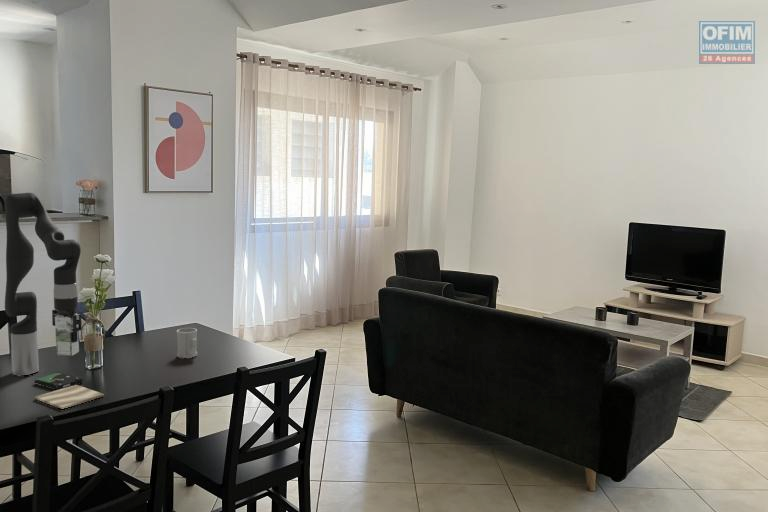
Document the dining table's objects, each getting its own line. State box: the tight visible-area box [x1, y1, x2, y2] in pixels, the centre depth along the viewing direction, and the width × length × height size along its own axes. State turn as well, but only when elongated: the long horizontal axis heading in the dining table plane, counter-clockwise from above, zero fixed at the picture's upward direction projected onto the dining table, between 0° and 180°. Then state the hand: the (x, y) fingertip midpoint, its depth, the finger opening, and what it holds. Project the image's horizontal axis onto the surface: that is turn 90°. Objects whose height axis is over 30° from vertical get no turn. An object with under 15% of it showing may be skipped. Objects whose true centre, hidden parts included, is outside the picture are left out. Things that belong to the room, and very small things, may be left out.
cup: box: [176, 327, 198, 359], centre depth 280 cm, size 10×9×12 cm
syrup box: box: [54, 315, 80, 357], centre depth 223 cm, size 6×6×14 cm
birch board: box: [34, 385, 105, 409], centre depth 226 cm, size 17×16×1 cm
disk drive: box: [34, 371, 84, 390], centre depth 240 cm, size 10×3×15 cm
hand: (67, 340), depth 223 cm, fingers closed on syrup box, 8 cm apart
